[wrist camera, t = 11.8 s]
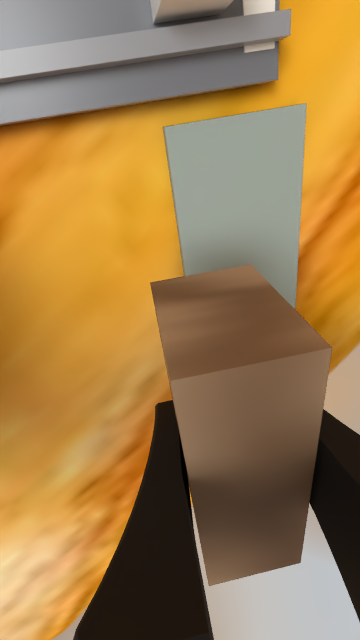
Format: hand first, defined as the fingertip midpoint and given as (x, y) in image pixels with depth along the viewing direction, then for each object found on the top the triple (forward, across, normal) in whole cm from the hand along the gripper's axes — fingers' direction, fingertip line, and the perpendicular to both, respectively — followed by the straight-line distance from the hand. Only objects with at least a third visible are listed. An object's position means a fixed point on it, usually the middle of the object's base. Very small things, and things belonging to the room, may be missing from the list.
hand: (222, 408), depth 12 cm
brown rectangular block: (+2, 0, 0) cm, 2 cm away
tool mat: (+8, -4, -3) cm, 10 cm away
